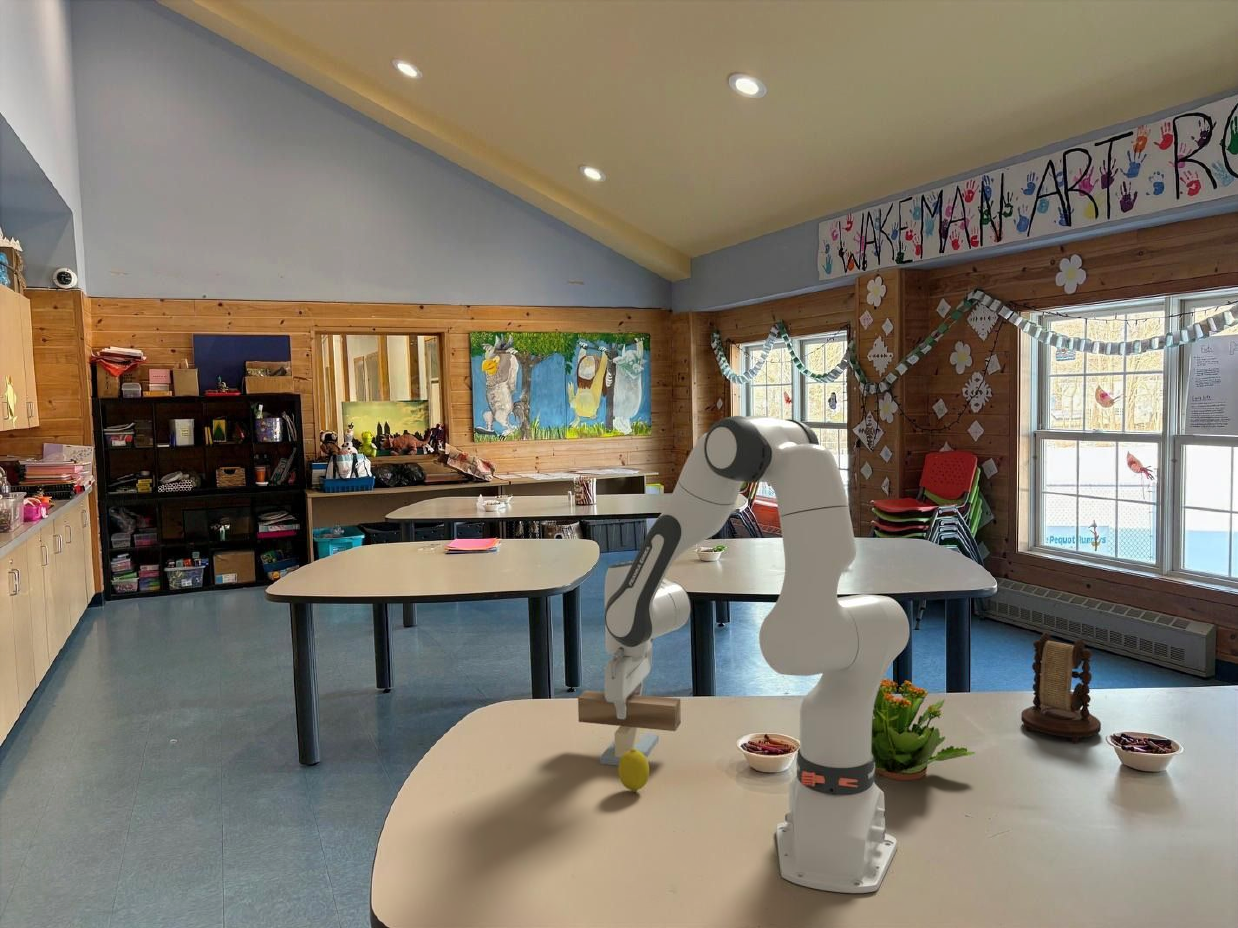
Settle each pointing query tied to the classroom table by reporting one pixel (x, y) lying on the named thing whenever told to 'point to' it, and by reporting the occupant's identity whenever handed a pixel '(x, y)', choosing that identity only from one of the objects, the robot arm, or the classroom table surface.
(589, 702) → the walnut bar
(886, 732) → the potted flower
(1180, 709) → the classroom table surface
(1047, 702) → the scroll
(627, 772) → the lemon
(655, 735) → the fulcrum
